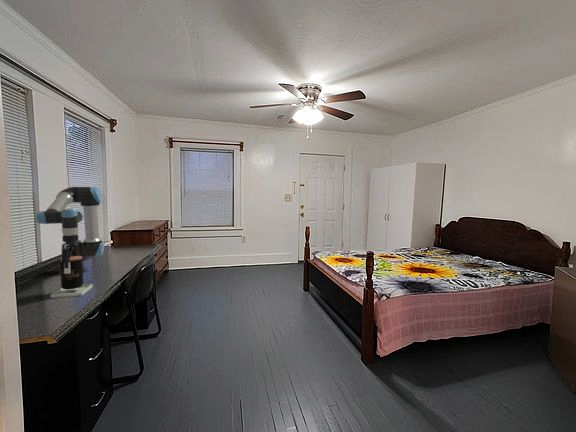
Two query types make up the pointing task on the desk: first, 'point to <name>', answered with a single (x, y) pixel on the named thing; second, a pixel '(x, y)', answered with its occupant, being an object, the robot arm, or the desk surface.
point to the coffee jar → (72, 273)
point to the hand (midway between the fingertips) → (71, 270)
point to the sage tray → (72, 291)
